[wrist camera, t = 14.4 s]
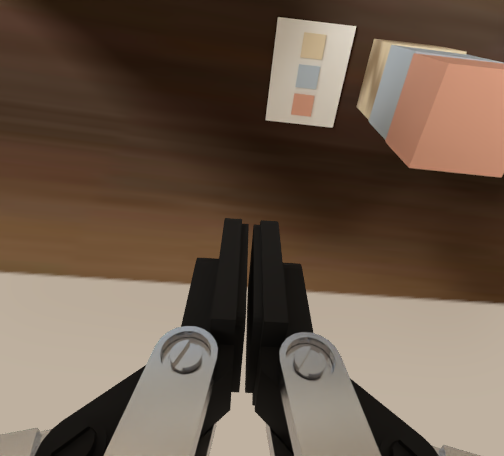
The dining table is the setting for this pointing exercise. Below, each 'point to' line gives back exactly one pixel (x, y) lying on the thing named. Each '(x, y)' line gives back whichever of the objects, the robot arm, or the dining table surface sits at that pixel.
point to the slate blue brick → (400, 83)
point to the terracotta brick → (451, 116)
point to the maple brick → (377, 67)
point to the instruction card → (308, 71)
